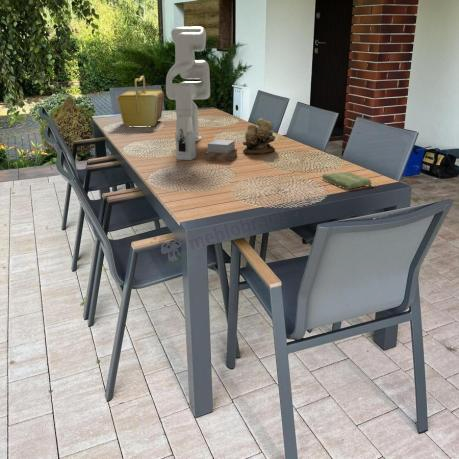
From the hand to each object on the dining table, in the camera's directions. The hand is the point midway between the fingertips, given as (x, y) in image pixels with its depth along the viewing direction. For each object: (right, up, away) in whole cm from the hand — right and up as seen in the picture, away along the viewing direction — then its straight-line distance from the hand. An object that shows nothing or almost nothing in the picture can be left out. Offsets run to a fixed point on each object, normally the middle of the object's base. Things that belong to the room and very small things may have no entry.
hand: (186, 149), depth 228 cm
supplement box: (0, -4, +2) cm, 5 cm away
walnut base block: (+17, -4, +2) cm, 18 cm away
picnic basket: (-37, +32, +88) cm, 100 cm away
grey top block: (+17, 0, +1) cm, 17 cm away
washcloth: (+68, -20, -37) cm, 80 cm away
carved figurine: (+36, +1, +13) cm, 38 cm away
